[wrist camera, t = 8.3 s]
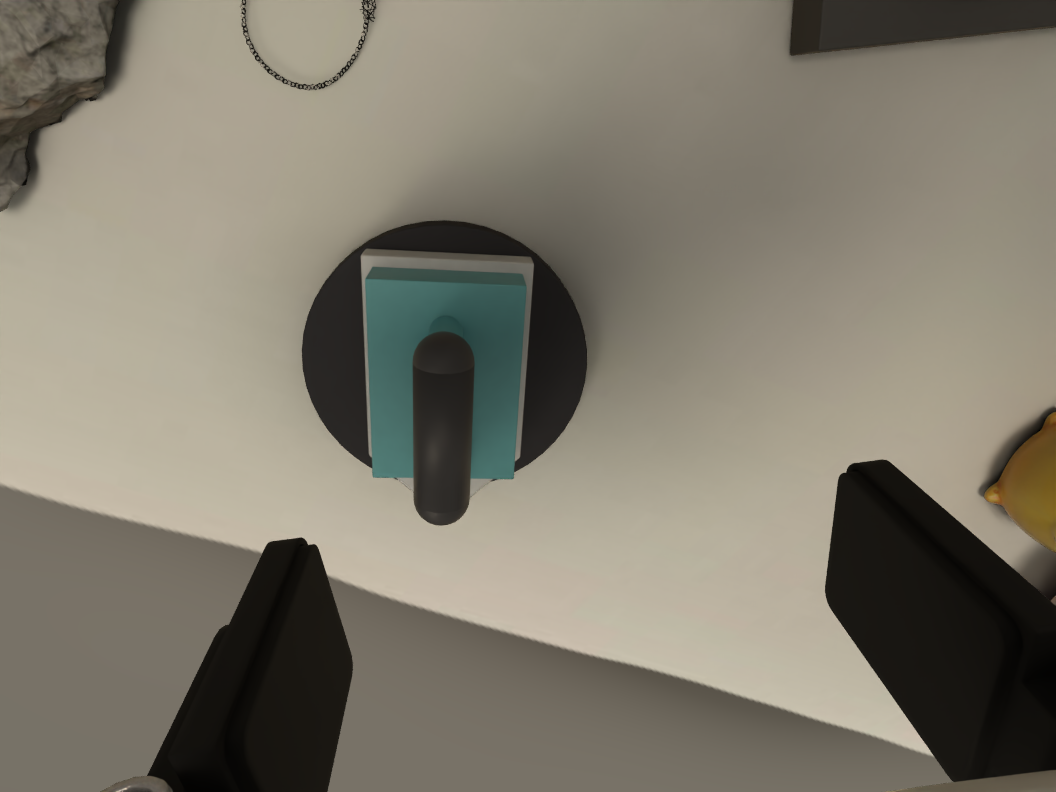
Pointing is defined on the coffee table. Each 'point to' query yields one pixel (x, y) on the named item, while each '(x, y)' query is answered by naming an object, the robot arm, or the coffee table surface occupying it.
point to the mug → (1031, 486)
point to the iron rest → (341, 354)
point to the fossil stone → (46, 71)
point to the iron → (445, 371)
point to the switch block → (908, 21)
